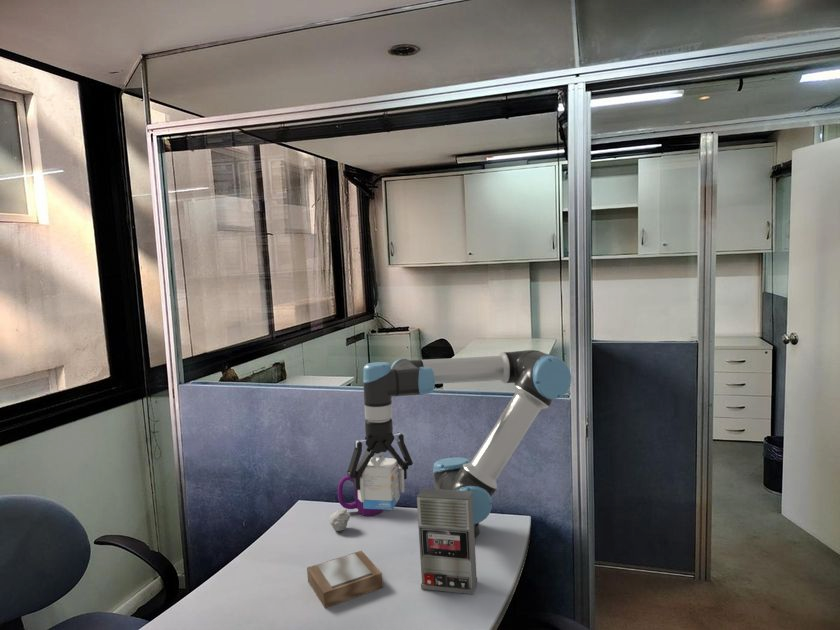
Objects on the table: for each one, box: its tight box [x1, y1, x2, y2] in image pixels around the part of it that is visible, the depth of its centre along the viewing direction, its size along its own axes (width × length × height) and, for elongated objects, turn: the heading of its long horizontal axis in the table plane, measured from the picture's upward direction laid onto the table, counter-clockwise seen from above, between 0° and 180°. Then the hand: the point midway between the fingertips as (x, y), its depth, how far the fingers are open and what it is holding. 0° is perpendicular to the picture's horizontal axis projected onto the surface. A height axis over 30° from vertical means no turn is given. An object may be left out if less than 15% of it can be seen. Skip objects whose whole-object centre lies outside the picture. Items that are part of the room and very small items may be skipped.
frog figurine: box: [329, 508, 351, 532], centre depth 181 cm, size 6×7×7 cm
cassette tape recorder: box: [416, 488, 478, 595], centre depth 146 cm, size 14×6×25 cm, turn 75°
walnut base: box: [306, 550, 384, 609], centre depth 150 cm, size 16×14×4 cm
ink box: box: [362, 452, 401, 511], centre depth 156 cm, size 9×8×13 cm
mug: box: [337, 475, 384, 517], centre depth 194 cm, size 9×16×15 cm, turn 94°
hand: (381, 495), depth 156 cm, fingers closed on ink box, 11 cm apart
